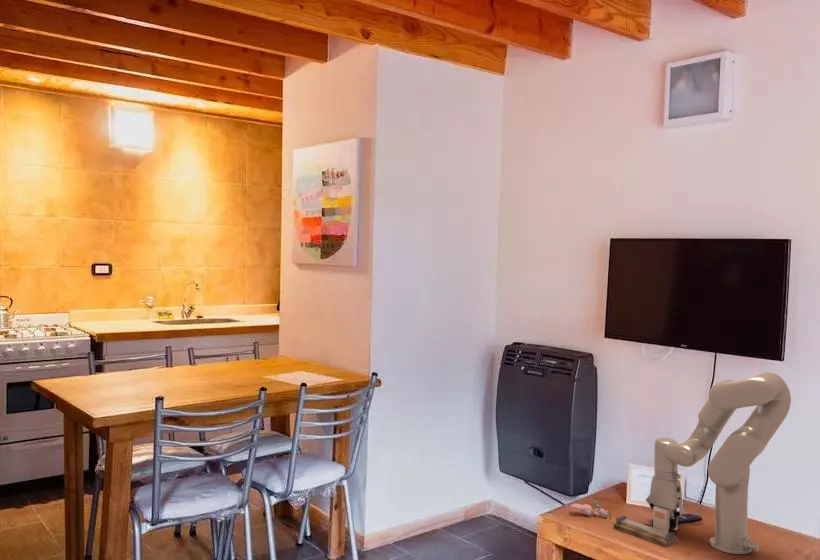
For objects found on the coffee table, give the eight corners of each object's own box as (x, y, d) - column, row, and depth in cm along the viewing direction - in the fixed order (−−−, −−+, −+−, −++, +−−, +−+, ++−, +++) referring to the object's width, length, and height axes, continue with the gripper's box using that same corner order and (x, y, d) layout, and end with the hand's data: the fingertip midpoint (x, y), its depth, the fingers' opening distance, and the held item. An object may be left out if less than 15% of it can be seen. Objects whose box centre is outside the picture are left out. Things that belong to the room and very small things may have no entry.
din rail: (674, 538, 225) (674, 532, 225) (668, 541, 223) (668, 536, 223) (623, 520, 241) (623, 515, 241) (616, 523, 238) (616, 518, 238)
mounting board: (677, 541, 226) (677, 537, 226) (665, 547, 222) (666, 542, 222) (625, 523, 242) (625, 519, 242) (613, 528, 237) (613, 524, 237)
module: (677, 529, 236) (677, 506, 236) (665, 534, 232) (666, 511, 232) (664, 525, 240) (664, 502, 240) (652, 530, 236) (653, 507, 236)
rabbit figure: (609, 517, 251) (568, 508, 254) (612, 502, 250) (571, 492, 254) (610, 524, 245) (568, 514, 248) (613, 508, 244) (571, 498, 248)
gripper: (694, 478, 231) (694, 531, 232) (649, 466, 245) (649, 516, 245) (683, 483, 227) (682, 536, 227) (637, 470, 240) (637, 521, 240)
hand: (665, 525), depth 236 cm, fingers closed on module, 5 cm apart
